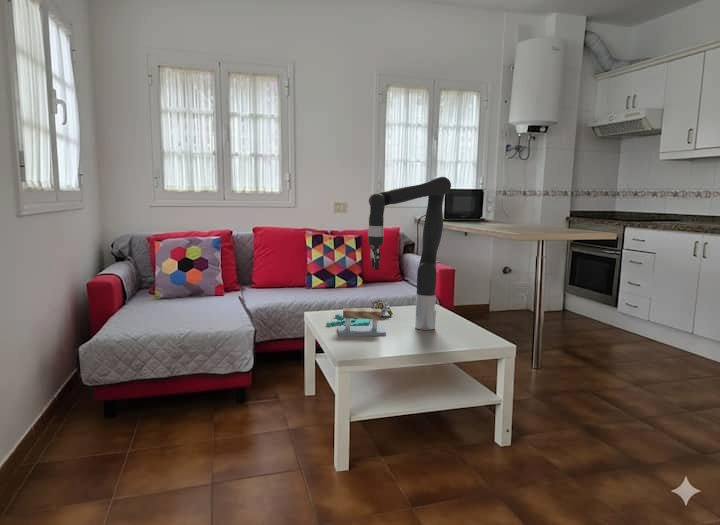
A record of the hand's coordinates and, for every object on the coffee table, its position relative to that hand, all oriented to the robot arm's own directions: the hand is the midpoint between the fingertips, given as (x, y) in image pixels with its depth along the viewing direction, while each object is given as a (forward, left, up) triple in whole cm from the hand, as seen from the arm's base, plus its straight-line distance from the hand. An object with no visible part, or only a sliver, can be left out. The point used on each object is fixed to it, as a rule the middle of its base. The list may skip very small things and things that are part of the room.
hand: (375, 268), depth 236 cm
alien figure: (+10, -12, -31) cm, 35 cm away
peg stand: (+7, +6, -30) cm, 31 cm away
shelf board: (+7, +6, -23) cm, 24 cm away
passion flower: (-8, -25, -30) cm, 40 cm away
